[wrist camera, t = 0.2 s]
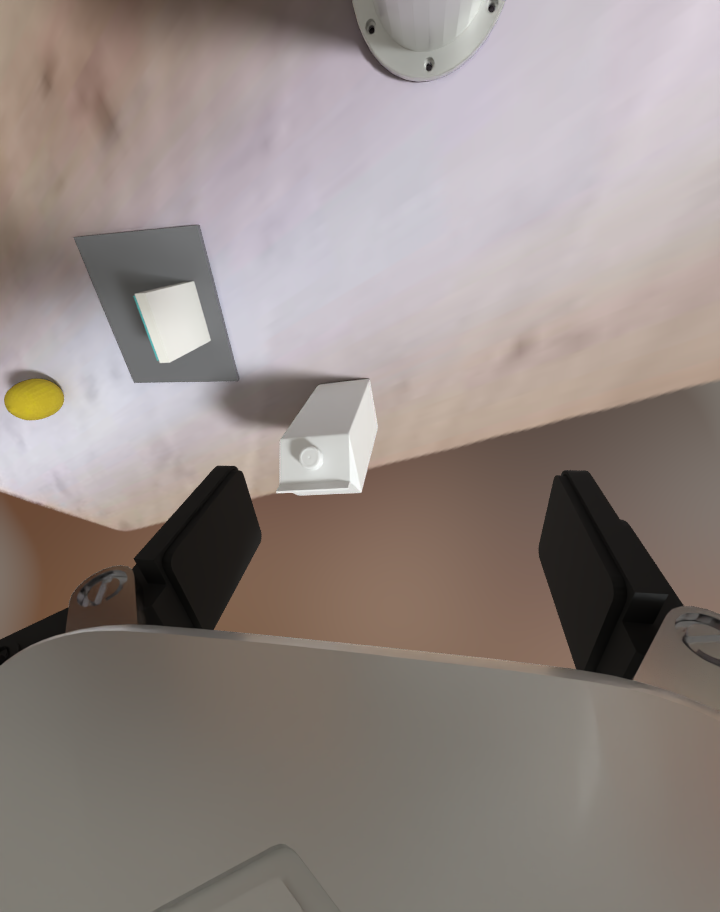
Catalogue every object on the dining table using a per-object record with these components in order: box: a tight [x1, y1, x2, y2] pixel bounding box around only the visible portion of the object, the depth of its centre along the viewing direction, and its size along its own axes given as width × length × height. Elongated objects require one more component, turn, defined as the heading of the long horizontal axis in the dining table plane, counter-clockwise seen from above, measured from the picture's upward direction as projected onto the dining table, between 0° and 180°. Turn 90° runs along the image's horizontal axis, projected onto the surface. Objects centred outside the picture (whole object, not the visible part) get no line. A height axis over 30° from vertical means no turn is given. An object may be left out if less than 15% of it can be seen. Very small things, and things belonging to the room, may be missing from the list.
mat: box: [74, 225, 239, 383], centre depth 47 cm, size 18×16×1 cm
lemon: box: [4, 379, 64, 420], centre depth 53 cm, size 6×6×8 cm
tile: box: [133, 281, 211, 363], centre depth 42 cm, size 7×2×9 cm, turn 4°
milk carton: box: [276, 379, 378, 495], centre depth 42 cm, size 7×7×19 cm
